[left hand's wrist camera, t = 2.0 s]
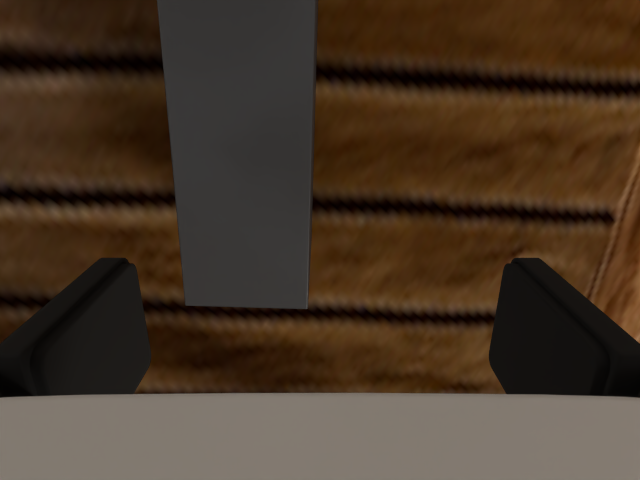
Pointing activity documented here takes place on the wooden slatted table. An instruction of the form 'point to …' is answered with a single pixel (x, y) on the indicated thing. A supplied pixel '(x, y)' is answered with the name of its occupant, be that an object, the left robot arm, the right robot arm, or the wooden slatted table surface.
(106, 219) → the wooden slatted table surface
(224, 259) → the cabinet
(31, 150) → the wooden slatted table surface
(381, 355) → the wooden slatted table surface
